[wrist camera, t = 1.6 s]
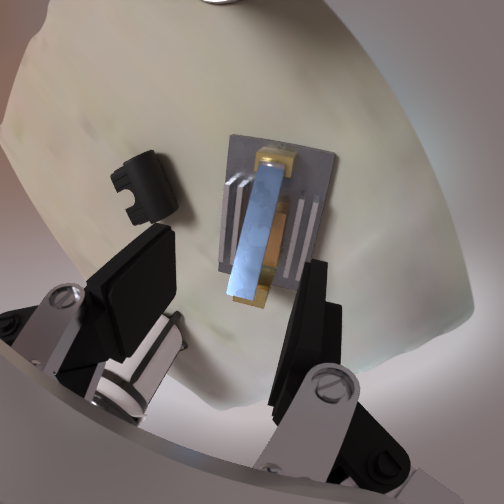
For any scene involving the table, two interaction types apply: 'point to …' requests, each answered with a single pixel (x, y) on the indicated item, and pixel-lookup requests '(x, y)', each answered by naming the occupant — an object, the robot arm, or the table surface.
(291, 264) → the block
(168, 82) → the table surface
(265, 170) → the strap
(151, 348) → the coffee press
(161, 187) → the end cap
